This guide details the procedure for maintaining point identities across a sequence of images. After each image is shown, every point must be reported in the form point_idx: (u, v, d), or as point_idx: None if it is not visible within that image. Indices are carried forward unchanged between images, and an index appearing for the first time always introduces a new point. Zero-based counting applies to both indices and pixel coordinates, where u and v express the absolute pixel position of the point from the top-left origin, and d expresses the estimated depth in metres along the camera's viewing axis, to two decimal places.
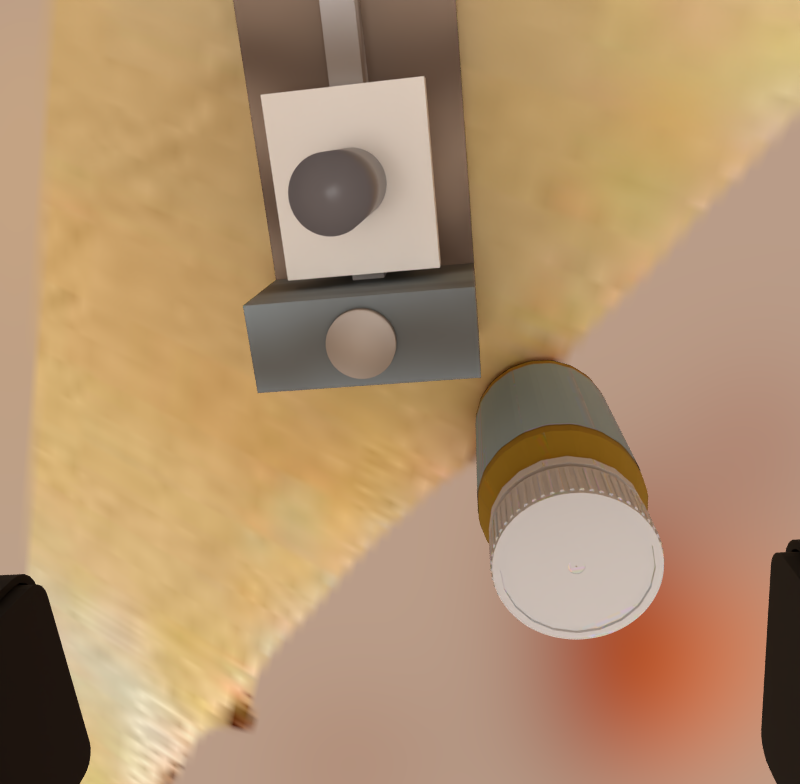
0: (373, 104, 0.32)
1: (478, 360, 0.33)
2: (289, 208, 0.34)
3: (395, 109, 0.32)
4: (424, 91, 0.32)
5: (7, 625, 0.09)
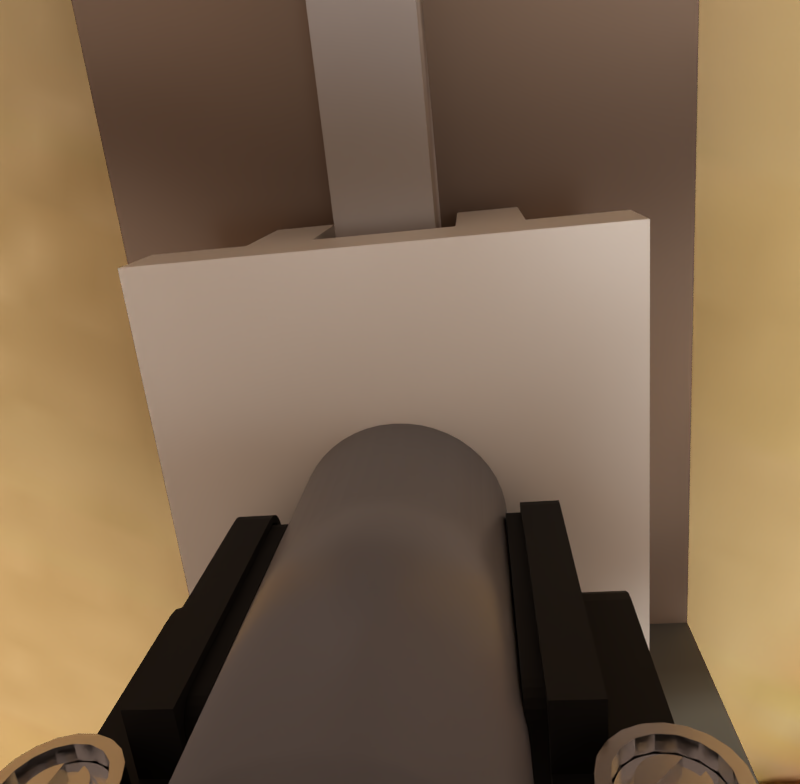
0: (476, 303, 0.10)
1: None
2: None
3: (547, 319, 0.10)
4: (645, 265, 0.10)
5: None
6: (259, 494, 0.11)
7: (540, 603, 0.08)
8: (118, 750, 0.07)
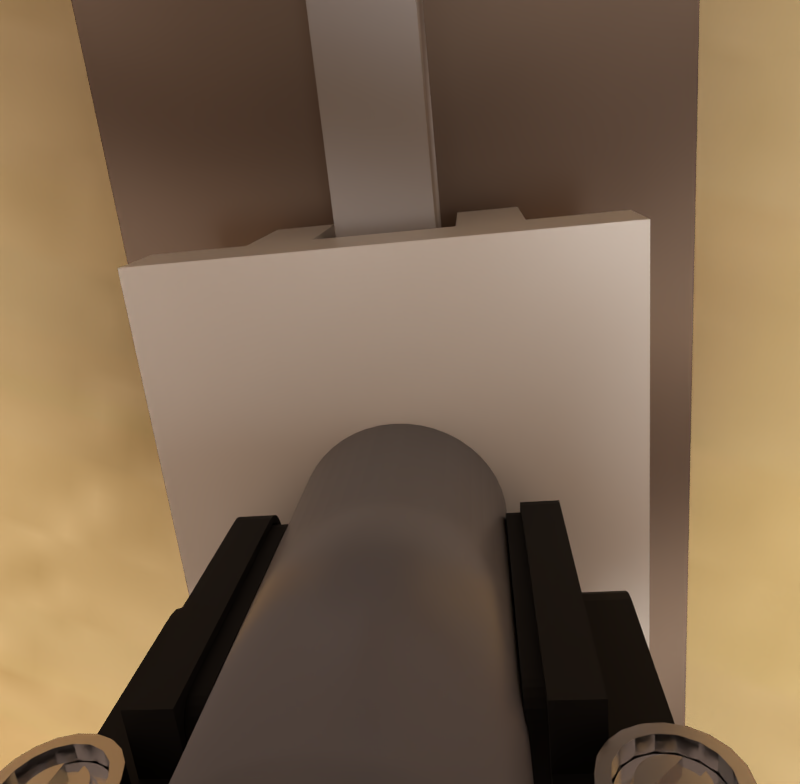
0: (476, 303, 0.10)
1: None
2: None
3: (547, 319, 0.10)
4: (645, 265, 0.10)
5: None
6: (259, 494, 0.11)
7: (540, 603, 0.08)
8: (118, 750, 0.07)
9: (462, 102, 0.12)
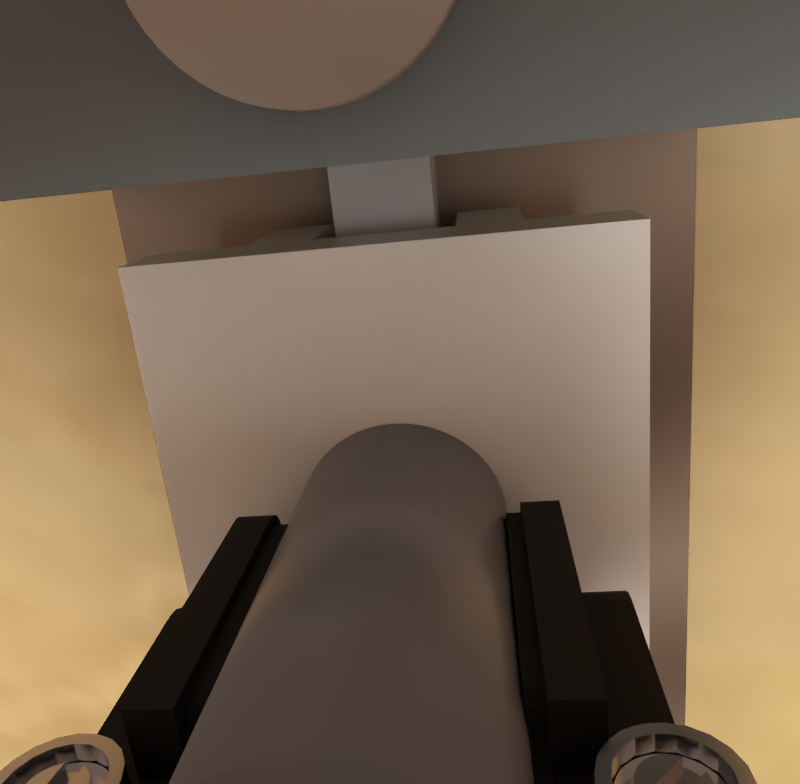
0: (476, 302, 0.10)
1: None
2: None
3: (547, 318, 0.10)
4: (645, 265, 0.10)
5: None
6: (259, 494, 0.11)
7: (540, 603, 0.08)
8: (118, 751, 0.07)
9: None
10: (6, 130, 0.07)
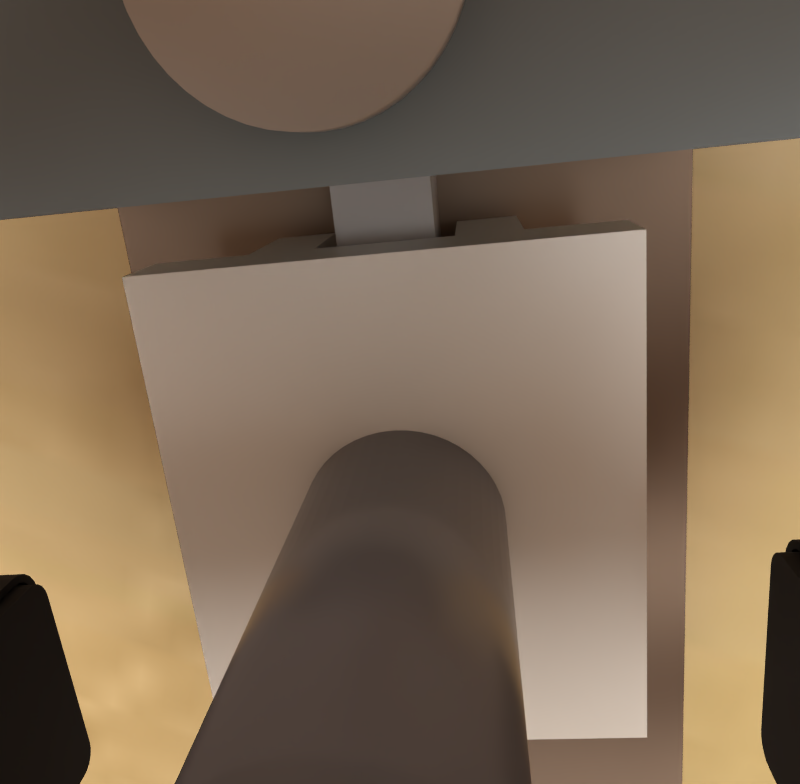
0: (475, 311, 0.10)
1: None
2: (221, 580, 0.12)
3: (545, 327, 0.10)
4: (642, 274, 0.10)
5: (7, 625, 0.09)
6: (261, 500, 0.11)
7: None
8: None
9: None
10: (17, 150, 0.07)
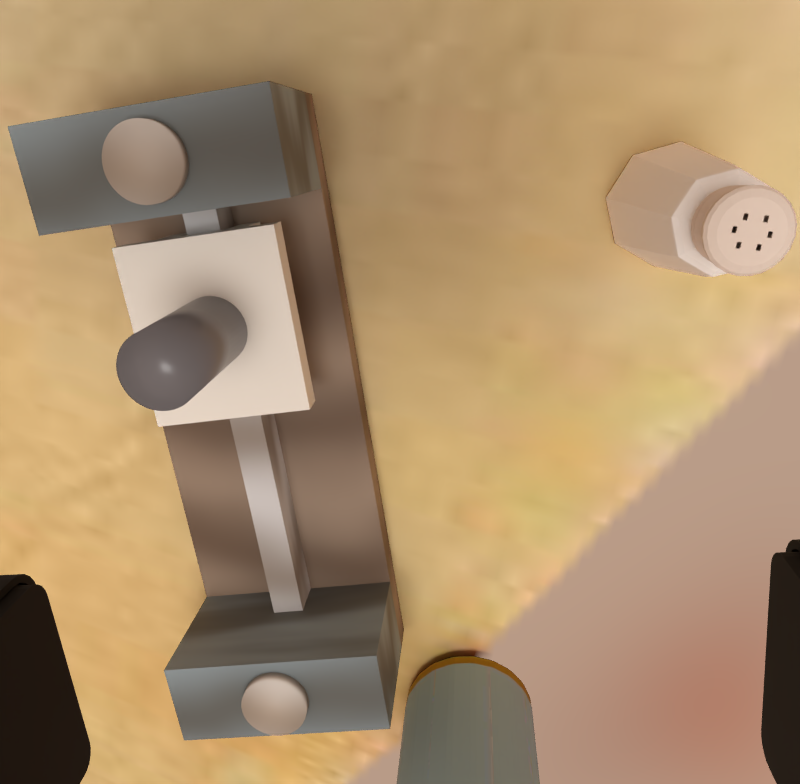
0: (225, 253, 0.31)
1: (386, 714, 0.35)
2: None
3: (248, 257, 0.31)
4: (276, 238, 0.31)
5: (7, 625, 0.09)
6: None
7: None
8: None
9: None
10: (81, 211, 0.29)
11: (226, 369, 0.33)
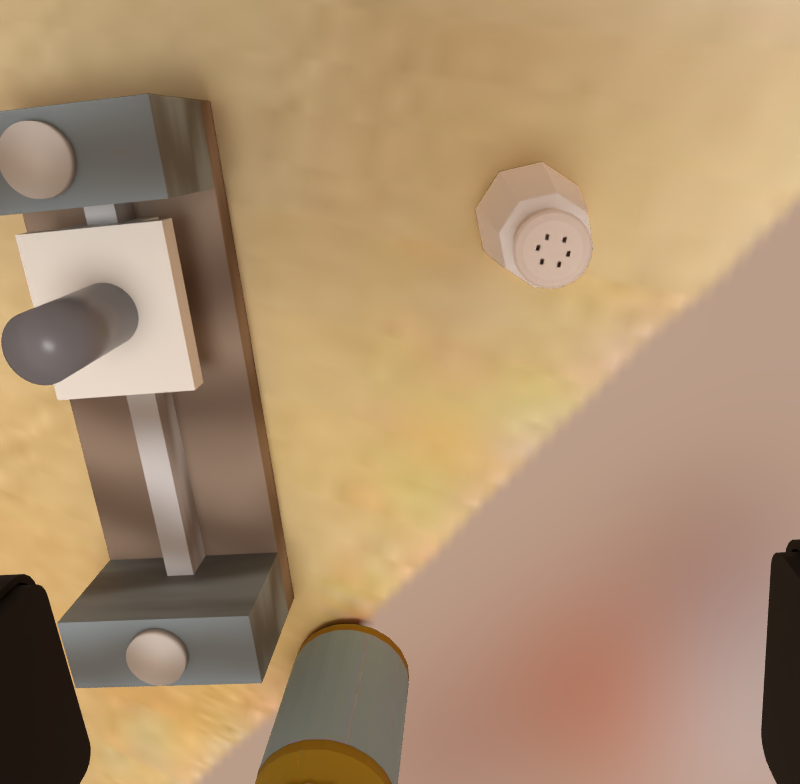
0: (118, 245, 0.34)
1: (258, 670, 0.38)
2: None
3: (139, 249, 0.34)
4: (164, 233, 0.34)
5: (7, 625, 0.09)
6: None
7: None
8: None
9: None
10: None
11: (119, 350, 0.36)
